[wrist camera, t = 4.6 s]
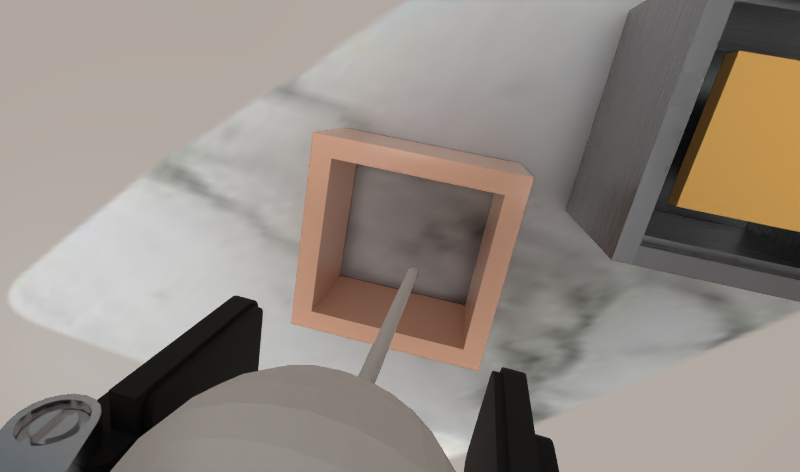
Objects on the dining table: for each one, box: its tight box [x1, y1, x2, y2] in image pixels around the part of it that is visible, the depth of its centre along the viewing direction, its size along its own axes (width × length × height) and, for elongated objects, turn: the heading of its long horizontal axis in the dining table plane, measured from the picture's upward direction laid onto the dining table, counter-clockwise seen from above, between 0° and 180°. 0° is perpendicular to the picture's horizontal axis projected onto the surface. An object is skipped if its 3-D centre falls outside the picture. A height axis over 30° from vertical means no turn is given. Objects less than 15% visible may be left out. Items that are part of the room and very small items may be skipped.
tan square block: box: [667, 51, 800, 232], centre depth 17 cm, size 6×6×4 cm
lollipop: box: [110, 267, 456, 472], centre depth 11 cm, size 6×6×15 cm
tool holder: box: [291, 128, 534, 371], centre depth 22 cm, size 10×10×5 cm
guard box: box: [566, 0, 800, 302], centre depth 17 cm, size 10×10×8 cm
